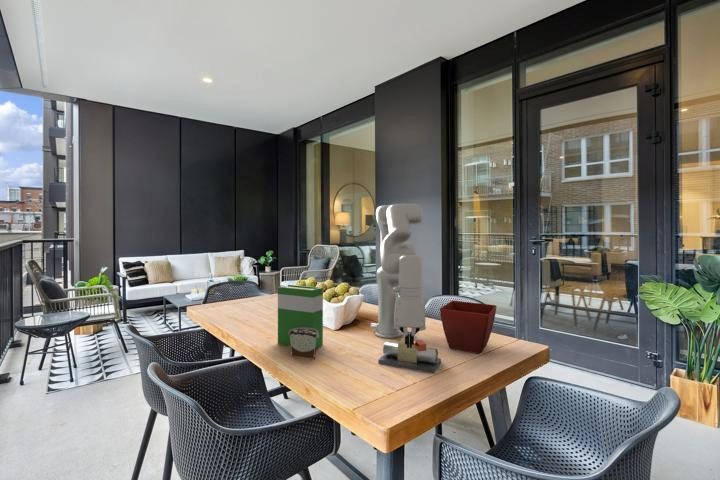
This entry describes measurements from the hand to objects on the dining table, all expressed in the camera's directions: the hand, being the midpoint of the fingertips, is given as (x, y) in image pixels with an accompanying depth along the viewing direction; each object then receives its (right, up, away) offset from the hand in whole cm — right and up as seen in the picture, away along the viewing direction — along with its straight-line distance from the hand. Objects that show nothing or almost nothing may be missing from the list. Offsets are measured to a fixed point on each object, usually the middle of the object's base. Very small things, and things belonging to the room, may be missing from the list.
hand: (409, 346), depth 120 cm
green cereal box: (-42, -8, +31) cm, 53 cm away
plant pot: (+28, -9, +28) cm, 41 cm away
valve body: (+2, -9, +10) cm, 14 cm away
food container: (-37, -9, +18) cm, 42 cm away
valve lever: (+3, 0, +4) cm, 5 cm away
